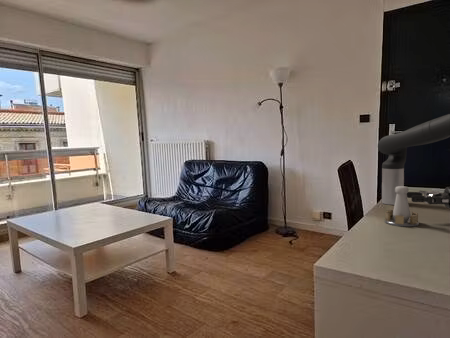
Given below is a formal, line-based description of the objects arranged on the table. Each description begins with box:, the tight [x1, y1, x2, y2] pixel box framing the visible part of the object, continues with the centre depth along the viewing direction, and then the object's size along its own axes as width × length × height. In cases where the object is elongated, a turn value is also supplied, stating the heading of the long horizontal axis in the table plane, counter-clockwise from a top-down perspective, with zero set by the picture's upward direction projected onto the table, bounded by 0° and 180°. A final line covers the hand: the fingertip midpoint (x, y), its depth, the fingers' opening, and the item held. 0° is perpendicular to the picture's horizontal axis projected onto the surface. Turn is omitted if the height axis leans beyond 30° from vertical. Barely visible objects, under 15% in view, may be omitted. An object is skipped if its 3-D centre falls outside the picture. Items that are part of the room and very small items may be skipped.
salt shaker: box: [392, 186, 412, 222], centre depth 112 cm, size 6×6×13 cm
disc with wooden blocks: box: [384, 209, 420, 228], centre depth 112 cm, size 11×11×4 cm
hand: (409, 196), depth 111 cm, fingers open, 8 cm apart
